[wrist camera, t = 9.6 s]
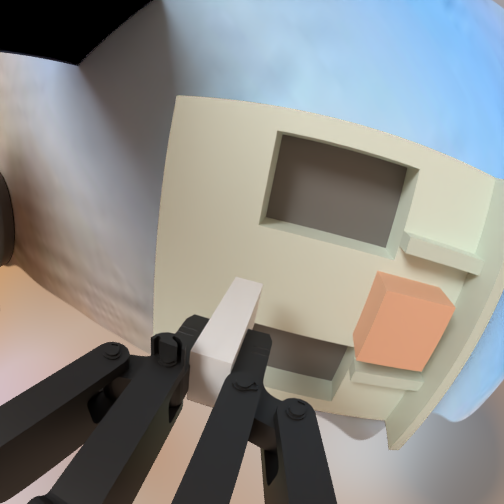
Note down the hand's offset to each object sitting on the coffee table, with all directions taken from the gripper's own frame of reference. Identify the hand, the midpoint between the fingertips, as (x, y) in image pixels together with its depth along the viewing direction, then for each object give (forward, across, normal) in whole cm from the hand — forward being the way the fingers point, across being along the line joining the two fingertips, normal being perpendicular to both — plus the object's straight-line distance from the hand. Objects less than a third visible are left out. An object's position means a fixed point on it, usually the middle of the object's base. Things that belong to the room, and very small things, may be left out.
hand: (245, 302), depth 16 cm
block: (+4, +10, 0) cm, 11 cm away
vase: (+8, -21, +22) cm, 31 cm away
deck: (+7, +4, 0) cm, 8 cm away
